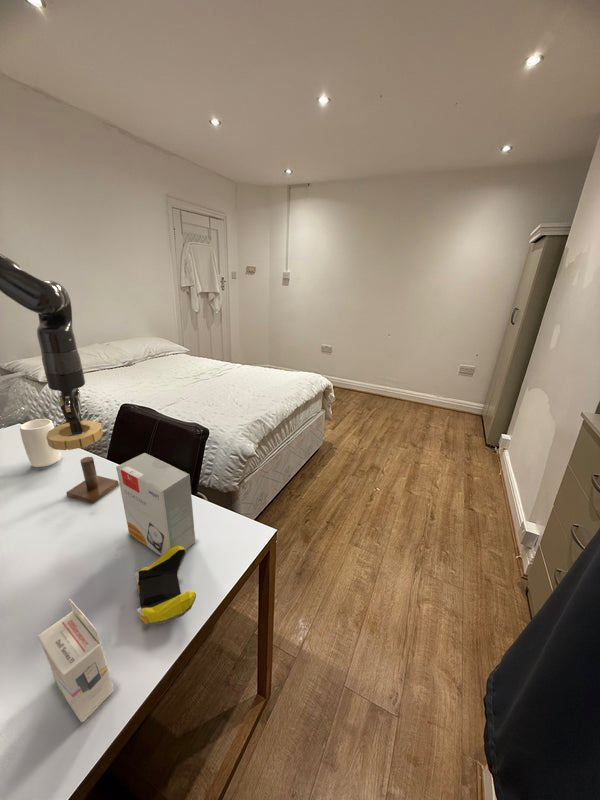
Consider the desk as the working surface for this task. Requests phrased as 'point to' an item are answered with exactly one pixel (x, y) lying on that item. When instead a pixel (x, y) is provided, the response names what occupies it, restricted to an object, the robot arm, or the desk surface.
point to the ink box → (77, 662)
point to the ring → (62, 442)
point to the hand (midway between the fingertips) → (77, 430)
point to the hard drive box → (157, 503)
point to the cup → (38, 442)
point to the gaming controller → (163, 589)
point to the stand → (91, 484)
